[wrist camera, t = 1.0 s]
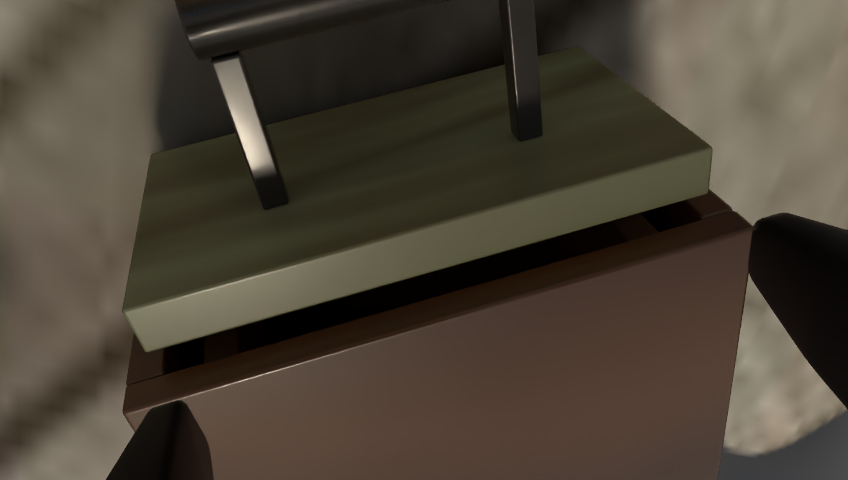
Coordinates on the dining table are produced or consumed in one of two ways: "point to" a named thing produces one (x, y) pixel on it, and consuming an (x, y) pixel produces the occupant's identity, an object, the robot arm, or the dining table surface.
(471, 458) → the cabinet
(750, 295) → the dining table surface
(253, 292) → the drawer
